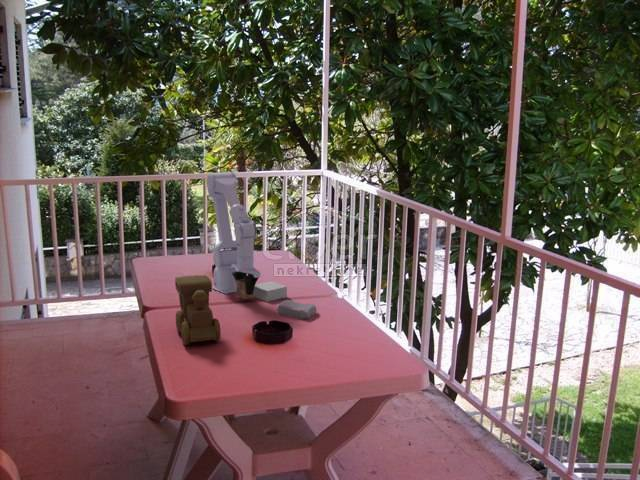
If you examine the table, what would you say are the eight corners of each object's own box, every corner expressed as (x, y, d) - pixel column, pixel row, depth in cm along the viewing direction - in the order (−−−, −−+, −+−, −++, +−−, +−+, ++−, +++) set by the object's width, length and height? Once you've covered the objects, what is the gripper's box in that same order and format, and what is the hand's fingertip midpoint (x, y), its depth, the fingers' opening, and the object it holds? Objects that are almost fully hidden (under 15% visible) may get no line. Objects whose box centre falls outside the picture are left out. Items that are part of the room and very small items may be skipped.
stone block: (288, 312, 232) (274, 314, 223) (290, 298, 232) (276, 300, 223) (319, 319, 227) (306, 321, 218) (321, 305, 227) (308, 307, 218)
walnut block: (236, 296, 237) (236, 280, 236) (246, 293, 240) (246, 277, 238) (244, 299, 234) (244, 282, 232) (254, 296, 237) (254, 280, 235)
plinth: (252, 295, 243) (252, 285, 242) (271, 291, 249) (271, 281, 248) (267, 301, 237) (267, 291, 236) (286, 297, 243) (286, 286, 242)
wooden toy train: (173, 327, 210) (172, 276, 206) (209, 323, 213) (208, 273, 210) (184, 350, 191) (182, 295, 188) (223, 345, 195) (222, 291, 192)
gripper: (224, 253, 236) (224, 290, 239) (248, 261, 226) (248, 299, 229) (240, 250, 241) (240, 286, 244) (264, 258, 230) (264, 295, 233)
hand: (245, 292), depth 236 cm, fingers closed on walnut block, 4 cm apart
